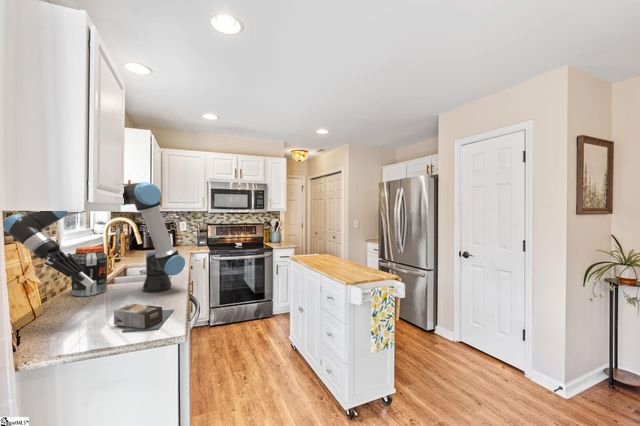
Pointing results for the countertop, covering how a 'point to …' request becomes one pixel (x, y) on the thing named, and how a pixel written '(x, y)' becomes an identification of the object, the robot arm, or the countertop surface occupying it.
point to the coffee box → (138, 316)
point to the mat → (155, 327)
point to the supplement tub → (91, 270)
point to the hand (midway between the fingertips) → (91, 284)
